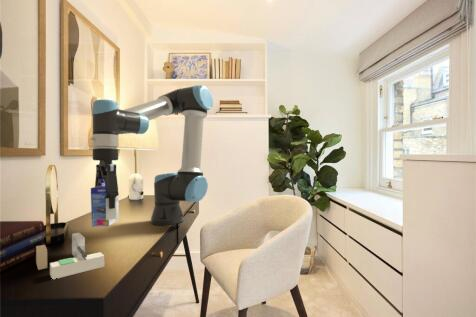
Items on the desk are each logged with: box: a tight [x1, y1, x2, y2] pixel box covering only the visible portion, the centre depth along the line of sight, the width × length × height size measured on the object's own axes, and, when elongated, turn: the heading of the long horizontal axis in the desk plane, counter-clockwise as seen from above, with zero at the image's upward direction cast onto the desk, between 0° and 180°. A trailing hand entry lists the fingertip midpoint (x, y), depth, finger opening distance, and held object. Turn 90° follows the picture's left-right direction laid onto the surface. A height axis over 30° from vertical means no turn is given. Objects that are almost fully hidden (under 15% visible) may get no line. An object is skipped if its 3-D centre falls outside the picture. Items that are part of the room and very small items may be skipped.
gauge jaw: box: [71, 232, 88, 258], centre depth 78 cm, size 2×17×6 cm, turn 41°
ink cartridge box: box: [90, 179, 120, 228], centre depth 86 cm, size 10×6×14 cm, turn 7°
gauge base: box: [35, 244, 105, 280], centre depth 75 cm, size 14×16×5 cm
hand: (105, 216), depth 86 cm, fingers closed on ink cartridge box, 11 cm apart
